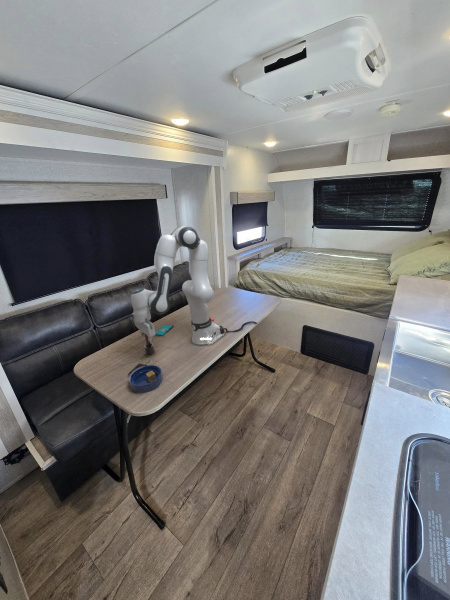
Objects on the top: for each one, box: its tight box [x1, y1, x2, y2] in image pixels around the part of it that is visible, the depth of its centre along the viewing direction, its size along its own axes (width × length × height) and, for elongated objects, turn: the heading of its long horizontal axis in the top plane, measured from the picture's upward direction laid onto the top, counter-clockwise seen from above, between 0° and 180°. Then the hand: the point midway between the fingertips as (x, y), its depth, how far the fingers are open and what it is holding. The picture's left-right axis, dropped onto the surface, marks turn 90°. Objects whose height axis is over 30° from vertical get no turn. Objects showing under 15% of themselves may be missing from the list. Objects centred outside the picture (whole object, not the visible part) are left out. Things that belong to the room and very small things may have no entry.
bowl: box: [128, 364, 164, 394], centre depth 120 cm, size 16×16×5 cm
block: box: [146, 371, 156, 382], centre depth 122 cm, size 4×4×4 cm
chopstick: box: [144, 333, 151, 347], centre depth 142 cm, size 2×2×15 cm
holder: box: [143, 342, 155, 357], centre depth 144 cm, size 5×5×6 cm
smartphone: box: [155, 324, 174, 337], centre depth 171 cm, size 7×1×15 cm
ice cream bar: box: [127, 359, 150, 376], centre depth 131 cm, size 5×2×15 cm
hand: (146, 337), depth 141 cm, fingers open, 8 cm apart
